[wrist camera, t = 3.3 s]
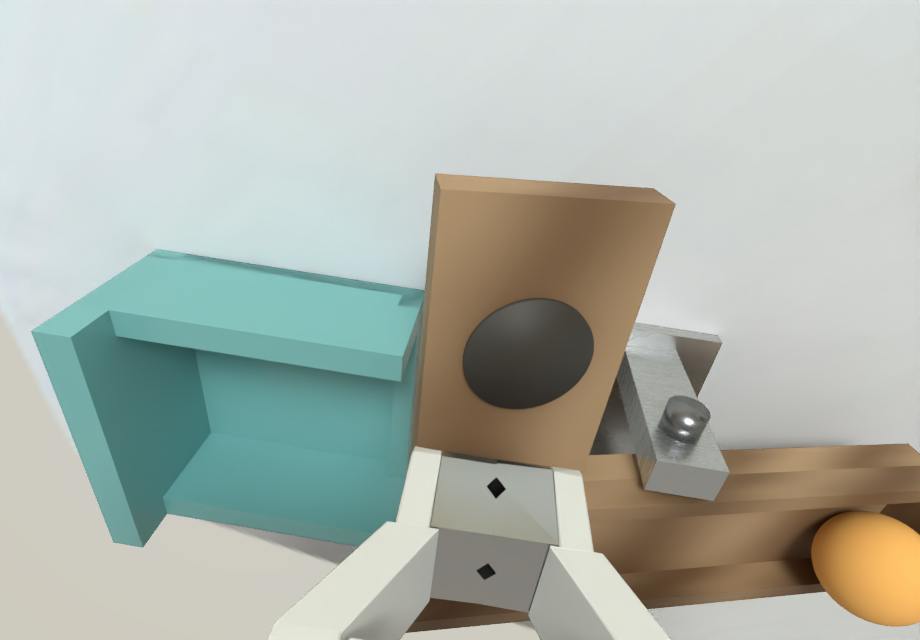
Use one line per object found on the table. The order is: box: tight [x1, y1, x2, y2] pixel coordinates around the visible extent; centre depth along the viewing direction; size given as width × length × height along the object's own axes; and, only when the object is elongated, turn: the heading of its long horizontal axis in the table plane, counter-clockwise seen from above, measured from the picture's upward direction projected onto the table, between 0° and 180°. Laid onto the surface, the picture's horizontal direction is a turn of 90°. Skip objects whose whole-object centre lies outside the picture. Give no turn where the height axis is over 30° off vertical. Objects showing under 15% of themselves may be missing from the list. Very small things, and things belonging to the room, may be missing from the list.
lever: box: [405, 174, 920, 633], centre depth 15 cm, size 18×14×3 cm
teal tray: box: [31, 250, 425, 547], centre depth 20 cm, size 11×10×6 cm
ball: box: [811, 511, 920, 626], centre depth 17 cm, size 4×4×4 cm
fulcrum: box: [589, 323, 730, 501], centre depth 19 cm, size 5×10×6 cm, turn 173°
